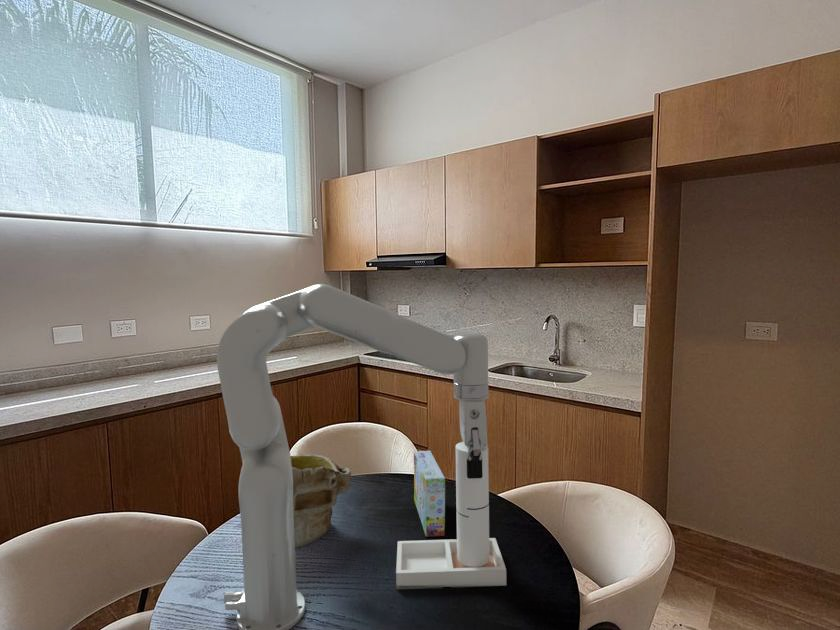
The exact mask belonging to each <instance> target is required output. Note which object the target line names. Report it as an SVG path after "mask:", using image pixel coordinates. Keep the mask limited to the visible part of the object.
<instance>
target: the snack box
mask: <svg viewBox="0 0 840 630" xmlns="http://www.w3.org/2000/svg"><path fill="white" fill-rule="evenodd" d="M413 476H414V477H413V501H414V504H415V507H416V509H417V514H418V516H419V519H420V522H421V526H422V529H423V532H424V535H425V537H426V538H427V537H428V538H429V537H444V536H446V534H445V533H446V530H445V529H446V477H445V476H444V474H443V472H442V471H441V468H440V467H439V465H438V463H437V461H436V459H435V457H434V455H433V454H432V451H431V450H419V451H413Z"/></svg>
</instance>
